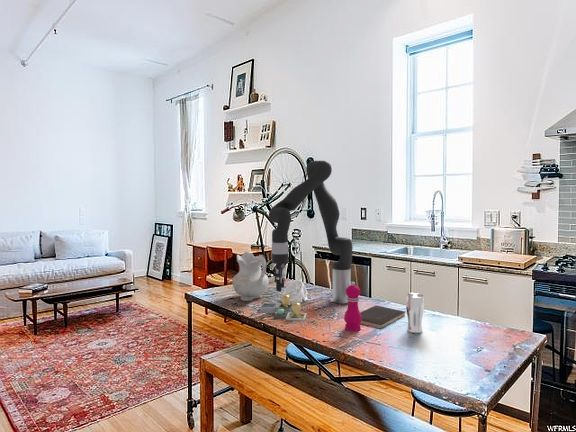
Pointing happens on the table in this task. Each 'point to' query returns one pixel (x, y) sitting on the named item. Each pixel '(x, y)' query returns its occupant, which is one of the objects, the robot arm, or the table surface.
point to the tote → (296, 318)
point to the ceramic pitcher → (250, 277)
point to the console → (280, 315)
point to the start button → (280, 311)
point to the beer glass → (415, 312)
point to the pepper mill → (352, 308)
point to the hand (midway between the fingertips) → (280, 289)
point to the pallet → (273, 308)
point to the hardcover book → (380, 316)
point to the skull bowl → (296, 291)
